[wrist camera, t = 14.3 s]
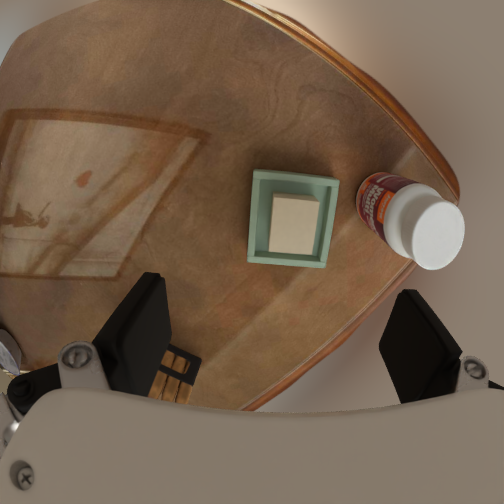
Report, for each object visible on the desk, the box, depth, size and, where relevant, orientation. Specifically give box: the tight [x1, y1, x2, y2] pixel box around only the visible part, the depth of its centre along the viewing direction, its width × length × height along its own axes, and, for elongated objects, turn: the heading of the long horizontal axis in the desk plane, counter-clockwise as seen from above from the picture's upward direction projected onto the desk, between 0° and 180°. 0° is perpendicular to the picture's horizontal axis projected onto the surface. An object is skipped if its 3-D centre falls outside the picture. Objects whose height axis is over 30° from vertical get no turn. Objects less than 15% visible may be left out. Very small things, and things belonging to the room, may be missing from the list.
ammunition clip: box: [148, 344, 202, 404], centre depth 29 cm, size 11×2×12 cm, turn 60°
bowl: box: [0, 329, 21, 375], centre depth 38 cm, size 13×13×5 cm
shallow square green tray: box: [247, 169, 339, 268], centre depth 26 cm, size 9×8×2 cm
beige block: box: [268, 191, 320, 255], centre depth 25 cm, size 5×4×3 cm
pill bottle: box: [356, 172, 465, 270], centre depth 20 cm, size 6×6×11 cm
